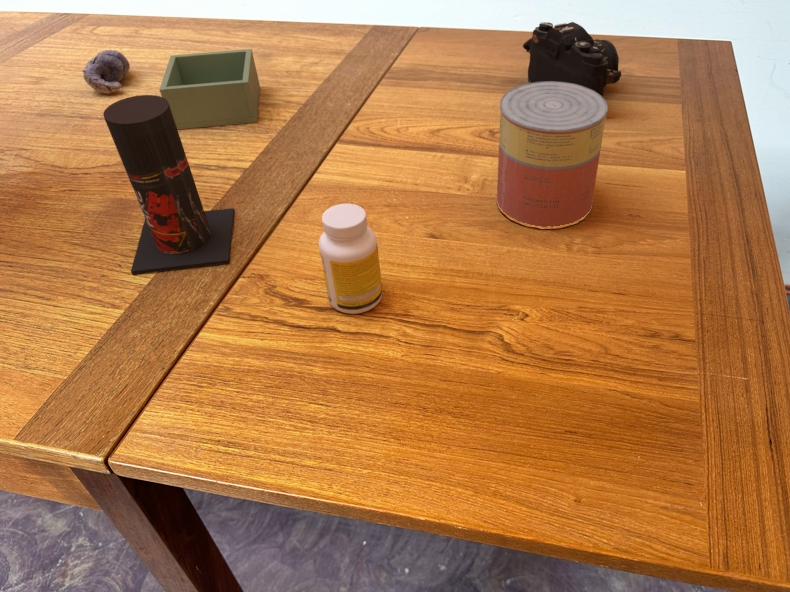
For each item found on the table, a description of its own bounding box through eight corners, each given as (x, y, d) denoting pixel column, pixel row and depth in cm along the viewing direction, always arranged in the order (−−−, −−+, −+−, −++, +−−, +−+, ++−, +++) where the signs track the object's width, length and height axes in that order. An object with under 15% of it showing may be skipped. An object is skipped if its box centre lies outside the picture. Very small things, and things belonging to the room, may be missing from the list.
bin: (172, 130, 92) (159, 89, 88) (182, 94, 100) (170, 55, 96) (257, 122, 94) (247, 81, 89) (260, 87, 102) (251, 48, 98)
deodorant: (222, 230, 74) (182, 101, 64) (185, 260, 70) (136, 128, 60) (181, 217, 76) (136, 90, 66) (144, 246, 72) (89, 116, 62)
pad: (132, 275, 70) (130, 271, 69) (146, 220, 77) (145, 217, 76) (229, 263, 71) (228, 260, 70) (234, 211, 78) (233, 207, 77)
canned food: (608, 193, 79) (625, 96, 71) (564, 241, 73) (577, 140, 64) (525, 167, 84) (532, 73, 75) (477, 209, 77) (479, 111, 69)
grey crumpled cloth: (112, 105, 101) (125, 79, 108) (125, 75, 98) (137, 51, 106) (75, 86, 98) (90, 61, 105) (87, 55, 96) (102, 31, 103)
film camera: (648, 97, 97) (663, 26, 90) (600, 127, 91) (611, 53, 84) (551, 64, 106) (557, -3, 99) (501, 89, 100) (503, 20, 93)
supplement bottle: (394, 297, 66) (386, 215, 60) (351, 323, 64) (337, 241, 57) (360, 273, 69) (348, 192, 62) (318, 297, 67) (301, 215, 60)
